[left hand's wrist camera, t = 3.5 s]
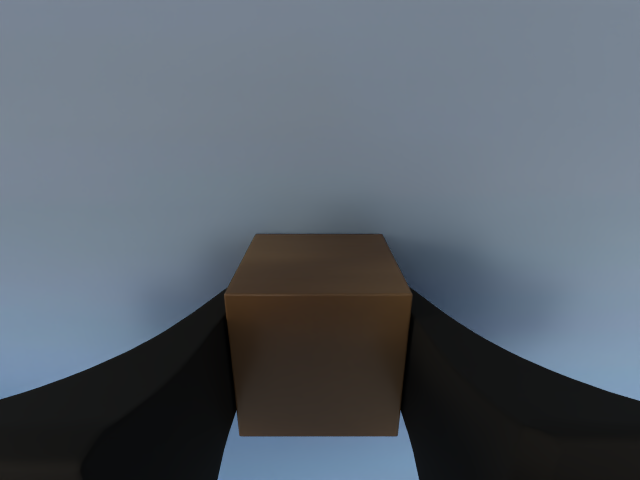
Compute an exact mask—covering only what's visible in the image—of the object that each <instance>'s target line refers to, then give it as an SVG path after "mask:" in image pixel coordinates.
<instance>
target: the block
mask: <svg viewBox="0 0 640 480" xmlns="http://www.w3.org/2000/svg"><path fill="white" fill-rule="evenodd" d="M412 296H413V295H412V292H411V290H410V288H409V286H408V284H407V282H406V280H405V278H404V276H403V275H402V273H401V271H400V269H399V267H398V265H397V263H396V261H395V259H394V257H393V255H392V253H391V251H390V249H389V247H388V245H387V243H386V241H385V239H384V237H383V235H382V234H256V235H255V236H254V238H253V240H252V242H251V244H250V246H249V248H248V250H247V252H246V253H245V255H244V257H243V259H242V261H241V263H240V265H239V267H238V269H237V271H236V273H235V274H234V276H233V278H232V280H231V282H230V284H229V286H228V288H227V290H226V292H225V294H224V300H225V309H226V318H227V327H228V336H229V345H230V354H231V364H232V373H233V382H234V391H235V400H236V409H237V418H238V427H239V435H240V436H398V429H399V419H400V410H401V400H402V391H403V381H404V372H405V363H406V353H407V344H408V334H409V325H410V315H411V306H412Z"/></svg>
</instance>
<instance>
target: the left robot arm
mask: <svg viewBox="0 0 640 480" xmlns="http://www.w3.org/2000/svg"><path fill="white" fill-rule="evenodd" d="M409 288H410V287H409ZM226 290H227V288H226V289H225V290H223V291H222V292H221V293H219V294H218V295H217V296H215V297H214V298H213V299H211V300H210V301H208V302H207V303H206V304H204V305H203V306H202V307H200V308H199V309H197V310H196V311H195V312H193V313H192V314H190V315H189V316H187V317H186V318H184V319H183V320H181V321H180V322H178V323H177V324H175V325H174V326H172V327H170V328H169V329H167V330H166V331H164V332H162V333H161V334H159V335H157V336H156V337H154V338H152V339H150V340H148V341H147V342H145V343H143V344H141V345H139V346H137V347H135V348H133V349H131V350H129V351H127V352H125V353H123V354H121V355H119V356H116V357H114V358H112V359H110V360H107V361H105V362H103V363H101V364H99V365H96V366H94V367H92V368H90V369H87V370H85V371H82V372H80V373H77V374H74V375H72V376H69V377H67V378H64V379H61V380H58V381H56V382H53V383H50V384H47V385H44V386H42V387H39V388H36V389H33V390H30V391H27V392H24V393H20V394H17V395H14V396H10V397H7V398H4V399H0V480H217V479H218V474H219V470H220V465H221V461H222V456H223V452H224V448H225V445H226V441H227V438H228V434H229V431H230V428H231V425H232V422H233V419H234V416H235V413H236V410H237V409H236V400H235V391H234V382H233V373H232V364H231V354H230V345H229V336H228V327H227V318H226V309H225V300H224V294H225V292H226ZM410 290H411V292H412V295H413V296H412V306H411V315H410V325H409V334H408V344H407V353H406V363H405V372H404V381H403V391H402V400H401V413H402V416H403V419H404V422H405V425H406V428H407V431H408V434H409V438H410V442H411V445H412V449H413V453H414V458H415V462H416V467H417V471H418V476H419V480H640V401H638V400H635V399H631V398H628V397H625V396H621V395H618V394H615V393H611V392H608V391H605V390H602V389H600V388H597V387H594V386H591V385H588V384H585V383H583V382H580V381H577V380H574V379H571V378H569V377H566V376H564V375H561V374H559V373H556V372H554V371H551V370H549V369H546V368H544V367H542V366H539V365H537V364H535V363H533V362H530V361H528V360H526V359H524V358H521V357H519V356H517V355H515V354H513V353H511V352H509V351H507V350H505V349H503V348H501V347H499V346H497V345H496V344H494V343H492V342H490V341H488V340H486V339H484V338H483V337H481V336H479V335H477V334H476V333H474V332H473V331H471V330H469V329H468V328H466V327H465V326H463V325H462V324H460V323H458V322H457V321H455V320H454V319H452V318H451V317H449V316H448V315H447V314H445V313H444V312H442V311H441V310H440V309H438V308H437V307H436V306H434V305H433V304H431V303H430V302H429V301H427V300H426V299H425V298H423V297H422V296H421V295H420V294H418V293H417V292H416V291H414V290H413V289H411V288H410Z"/></svg>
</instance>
